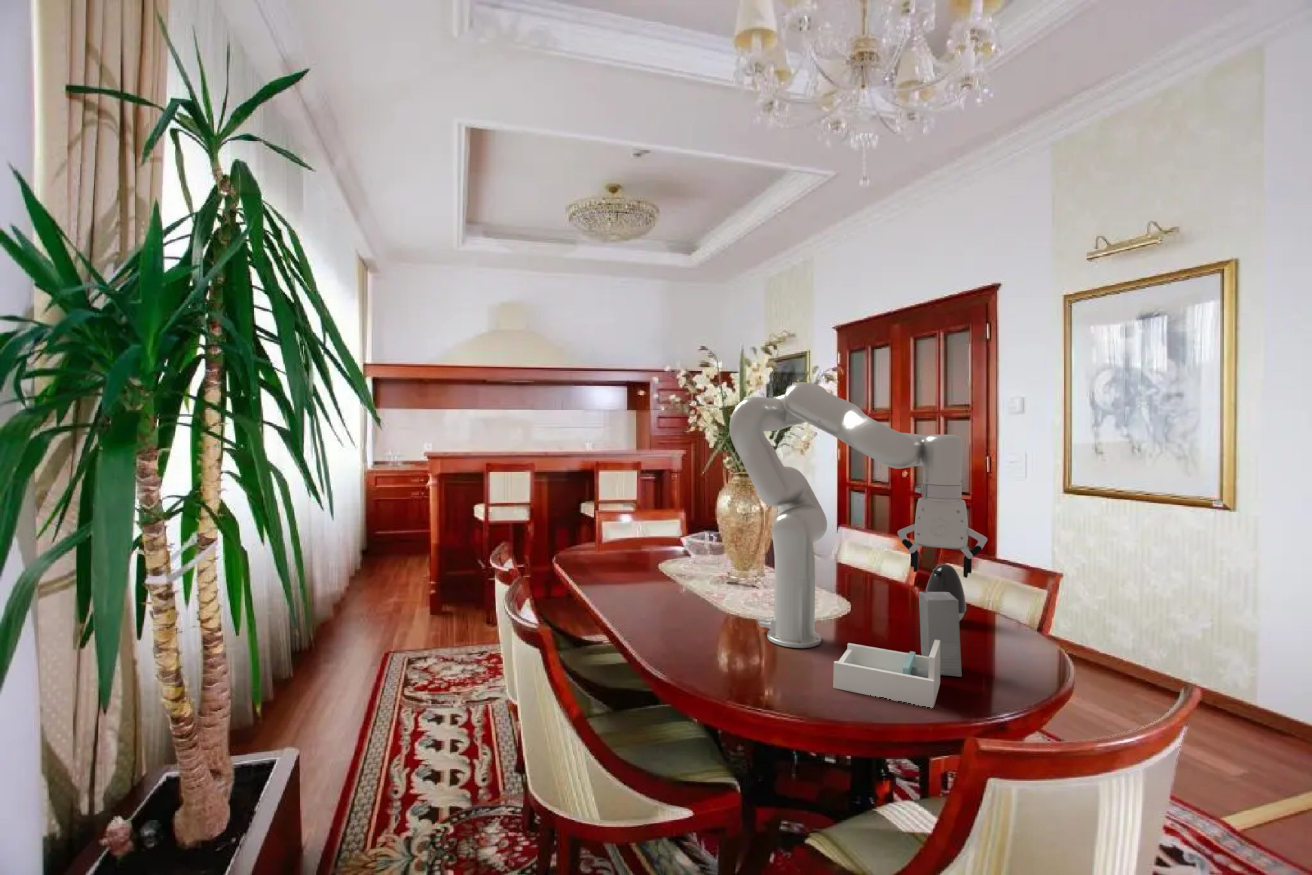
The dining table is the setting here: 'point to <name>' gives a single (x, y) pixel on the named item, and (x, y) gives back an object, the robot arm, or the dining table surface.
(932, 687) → the open box with divider
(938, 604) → the skincare box
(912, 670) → the pusher
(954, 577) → the dark grey egg shape
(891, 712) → the dining table surface
